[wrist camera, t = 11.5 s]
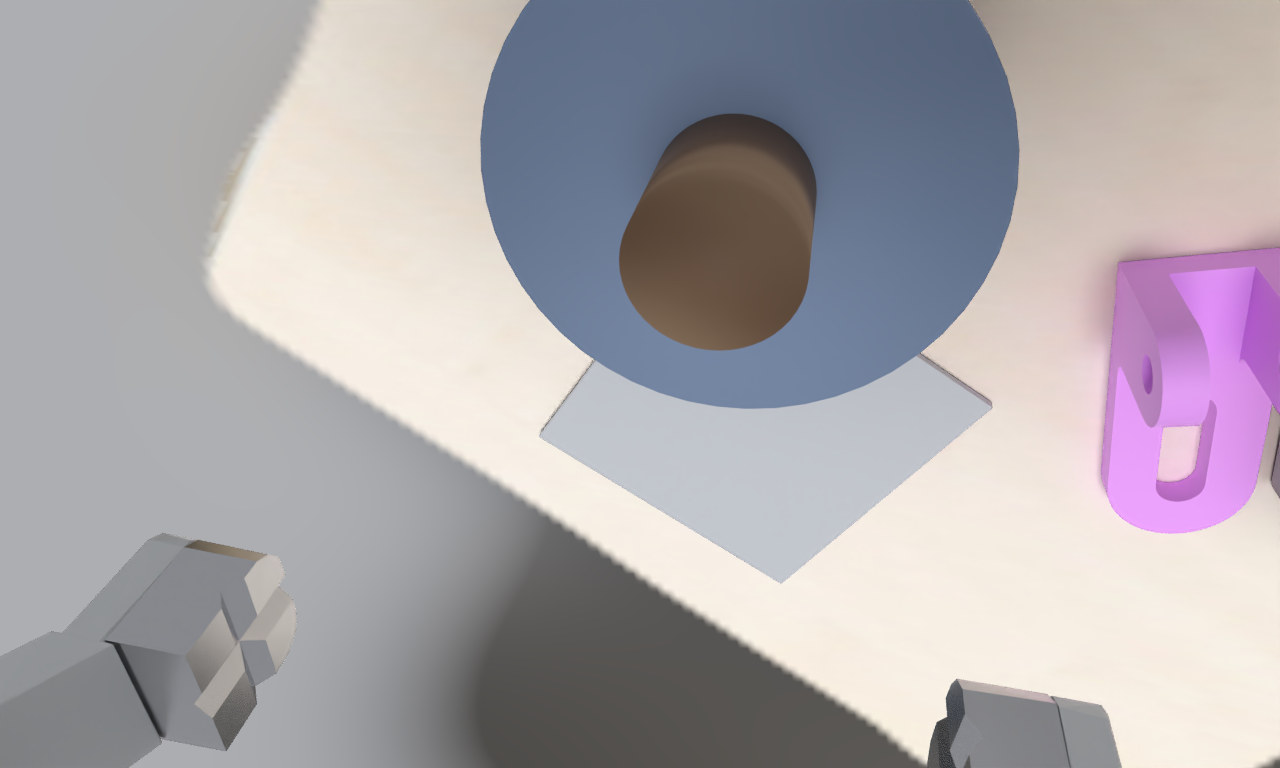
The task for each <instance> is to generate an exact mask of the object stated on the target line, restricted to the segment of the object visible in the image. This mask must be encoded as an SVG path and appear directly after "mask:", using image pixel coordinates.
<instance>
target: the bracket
mask: <svg viewBox="0 0 1280 768" xmlns="http://www.w3.org/2000/svg"><path fill="white" fill-rule="evenodd" d="M1272 404H1273V405H1274V407H1275V408H1276V410H1277V412H1278V413H1279V414H1280V248H1269V249H1258V250H1247V251H1236V252H1225V253H1214V254H1203V255H1192V256H1182V257H1171V258H1160V259H1149V260H1138V261H1127V262H1118V272H1117V284H1116V296H1115V308H1114V320H1113V332H1112V344H1111V357H1110V369H1109V381H1108V393H1107V405H1106V417H1105V429H1104V441H1103V453H1102V465H1101V475H1102V480H1103V483H1104V486H1105V489H1106V492H1107V495H1108V498H1109V501H1110V504H1111V506H1112V508H1113V509H1114V511H1115V512H1116V513H1117V514H1118V515H1119V516H1120V517H1121V518H1122V519H1124V520H1125V521H1127V522H1128V523H1130V524H1132V525H1134V526H1136V527H1138V528H1141V529H1144V530H1147V531H1152V532H1158V533H1186V532H1193V531H1197V530H1201V529H1205V528H1208V527H1211V526H1213V525H1216V524H1218V523H1220V522H1222V521H1224V520H1226V519H1227V518H1229V517H1231V516H1232V515H1234V514H1235V513H1236V512H1237V511H1239V510H1240V509H1241V508H1242V507H1243V506H1244V505H1245V504H1246V502H1247V501H1248V500H1249V498H1250V497H1251V495H1252V493H1253V491H1254V489H1255V485H1256V482H1257V477H1258V472H1259V467H1260V462H1261V457H1262V452H1263V447H1264V442H1265V437H1266V432H1267V428H1268V423H1269V418H1270V413H1271V408H1272ZM1202 423H1203V425H1202V431H1201V438H1200V444H1199V451H1198V457H1197V463H1196V468H1195V470H1194V472H1193V473H1192V474H1191V475H1190V476H1188V477H1187V478H1185V479H1183V480H1180V481H1177V482H1161V481H1158V480H1156V479H1157V472H1158V464H1159V456H1160V448H1161V440H1162V432H1163V427H1181V426H1199V425H1201V424H1202Z"/></svg>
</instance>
